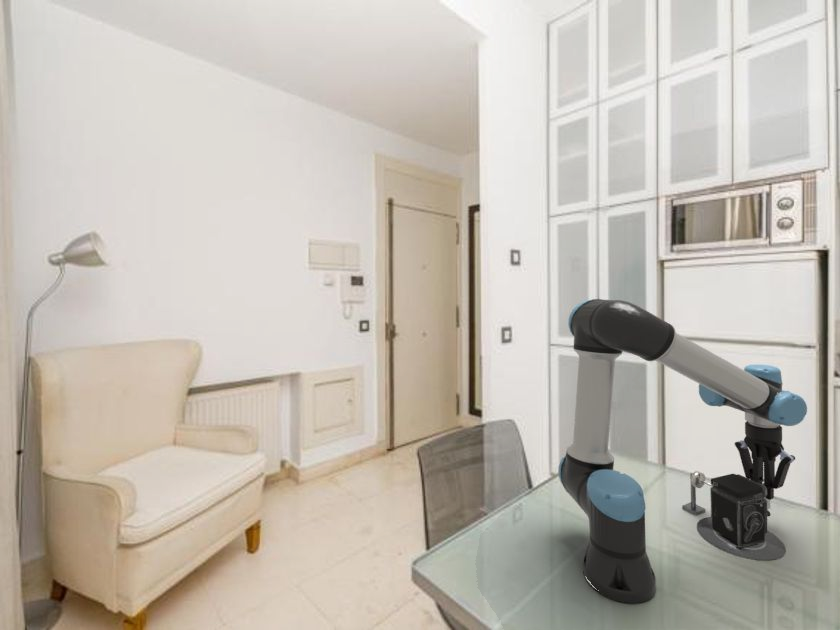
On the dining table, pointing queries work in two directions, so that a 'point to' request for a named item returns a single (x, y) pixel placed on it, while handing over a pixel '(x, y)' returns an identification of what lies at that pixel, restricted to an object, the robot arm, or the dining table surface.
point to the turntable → (761, 551)
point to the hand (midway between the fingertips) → (764, 508)
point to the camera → (739, 509)
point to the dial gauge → (698, 482)
